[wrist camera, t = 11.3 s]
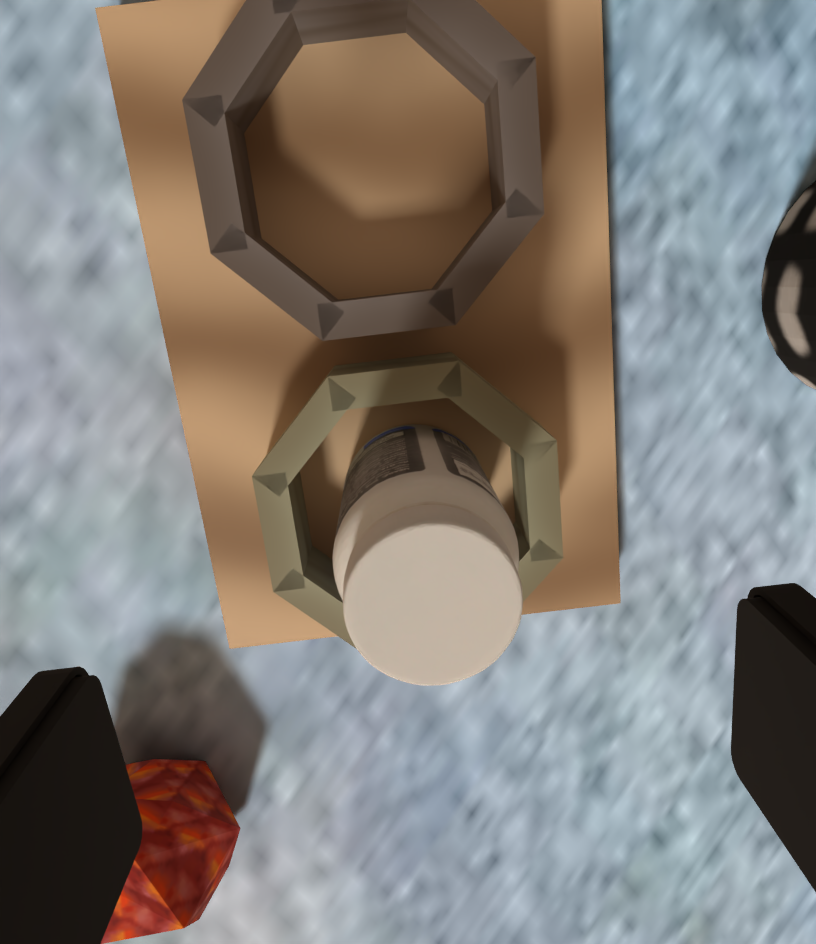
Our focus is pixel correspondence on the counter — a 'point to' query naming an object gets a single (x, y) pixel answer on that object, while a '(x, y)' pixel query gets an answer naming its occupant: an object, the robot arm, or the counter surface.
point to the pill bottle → (425, 558)
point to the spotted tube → (793, 289)
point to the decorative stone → (174, 848)
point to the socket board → (376, 271)
